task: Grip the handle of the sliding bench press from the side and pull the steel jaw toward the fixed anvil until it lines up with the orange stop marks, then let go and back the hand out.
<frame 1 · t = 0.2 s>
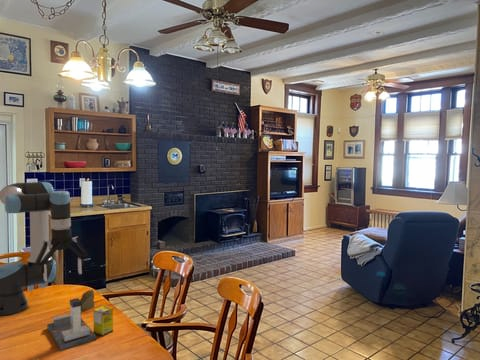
hand: (63, 276, 154), 27 cm above the table, tool pointing down, fingers open, 13 cm apart
supplement box: (103, 332, 162), on the table
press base: (70, 334, 160), on the table
rock: (84, 309, 186), on the table
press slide: (75, 318, 153), point 10 cm above the table, slide at 0.0 cm
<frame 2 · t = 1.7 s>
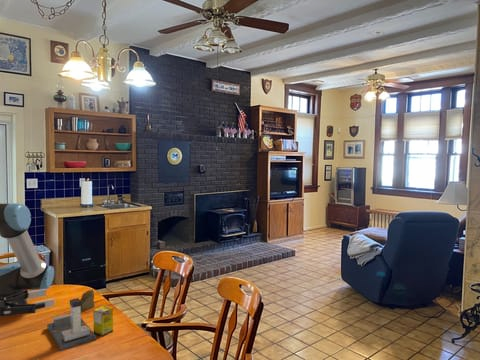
hand: (50, 296, 146), 22 cm above the table, tool horizontal, fingers open, 13 cm apart
nothing on the table moved.
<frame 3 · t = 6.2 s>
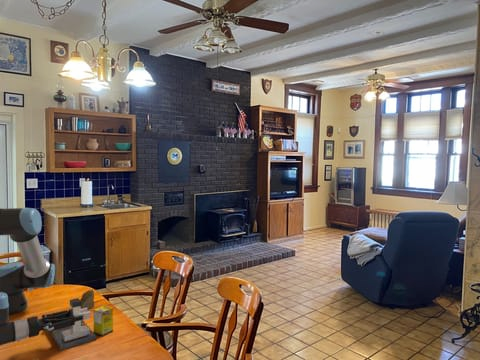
hand: (88, 312, 156), 11 cm above the table, tool horizontal, fingers closed on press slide, 4 cm apart
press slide: (75, 318, 153), point 10 cm above the table, slide at 0.0 cm, touching gripper
everything else where it was.
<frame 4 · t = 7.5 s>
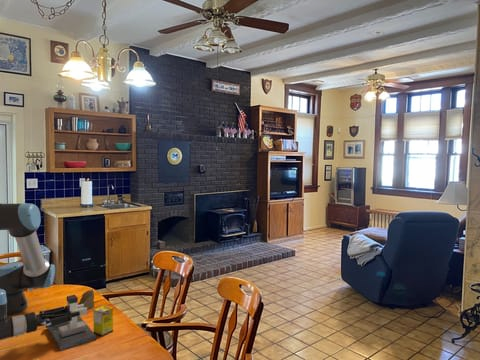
hand: (85, 308, 160), 11 cm above the table, tool horizontal, fingers closed on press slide, 4 cm apart
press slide: (72, 314, 157), point 10 cm above the table, slide at 5.0 cm, touching gripper
everything else where it was.
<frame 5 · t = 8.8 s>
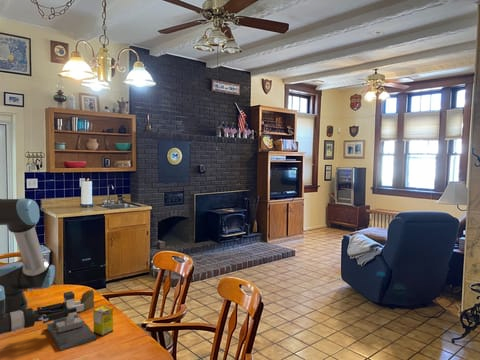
hand: (81, 305, 164), 11 cm above the table, tool horizontal, fingers closed on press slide, 4 cm apart
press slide: (69, 310, 161), point 10 cm above the table, slide at 10.0 cm, touching gripper
everything else where it was.
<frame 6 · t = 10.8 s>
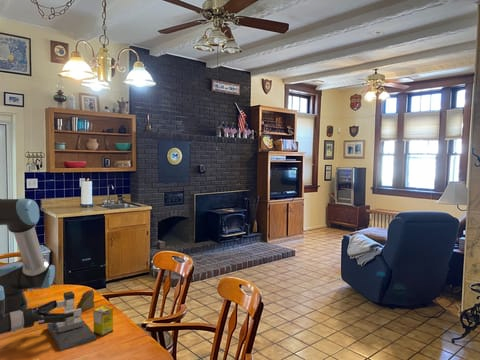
hand: (76, 306, 163), 11 cm above the table, tool horizontal, fingers open, 13 cm apart
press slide: (69, 310, 161), point 10 cm above the table, slide at 10.0 cm
everything else where it was.
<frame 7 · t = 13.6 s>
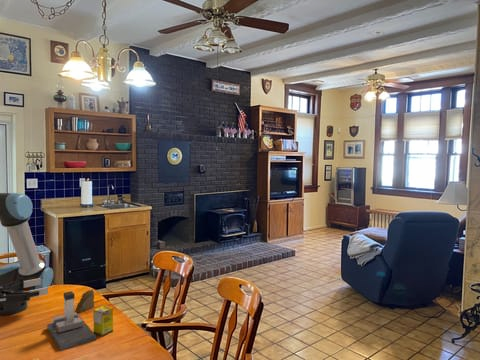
hand: (44, 285, 154), 23 cm above the table, tool horizontal, fingers open, 13 cm apart
nothing on the table moved.
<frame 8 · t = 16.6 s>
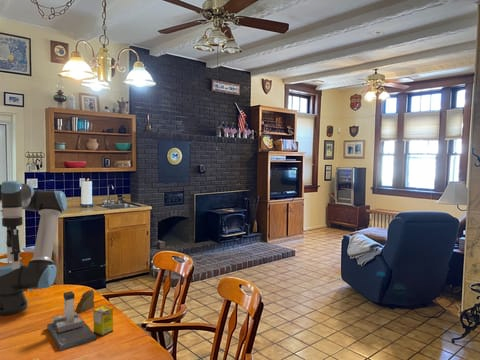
hand: (13, 264, 158), 31 cm above the table, tool pointing down, fingers open, 13 cm apart
nothing on the table moved.
at the end: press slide slide at 10.0 cm; the gripper is holding nothing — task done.
